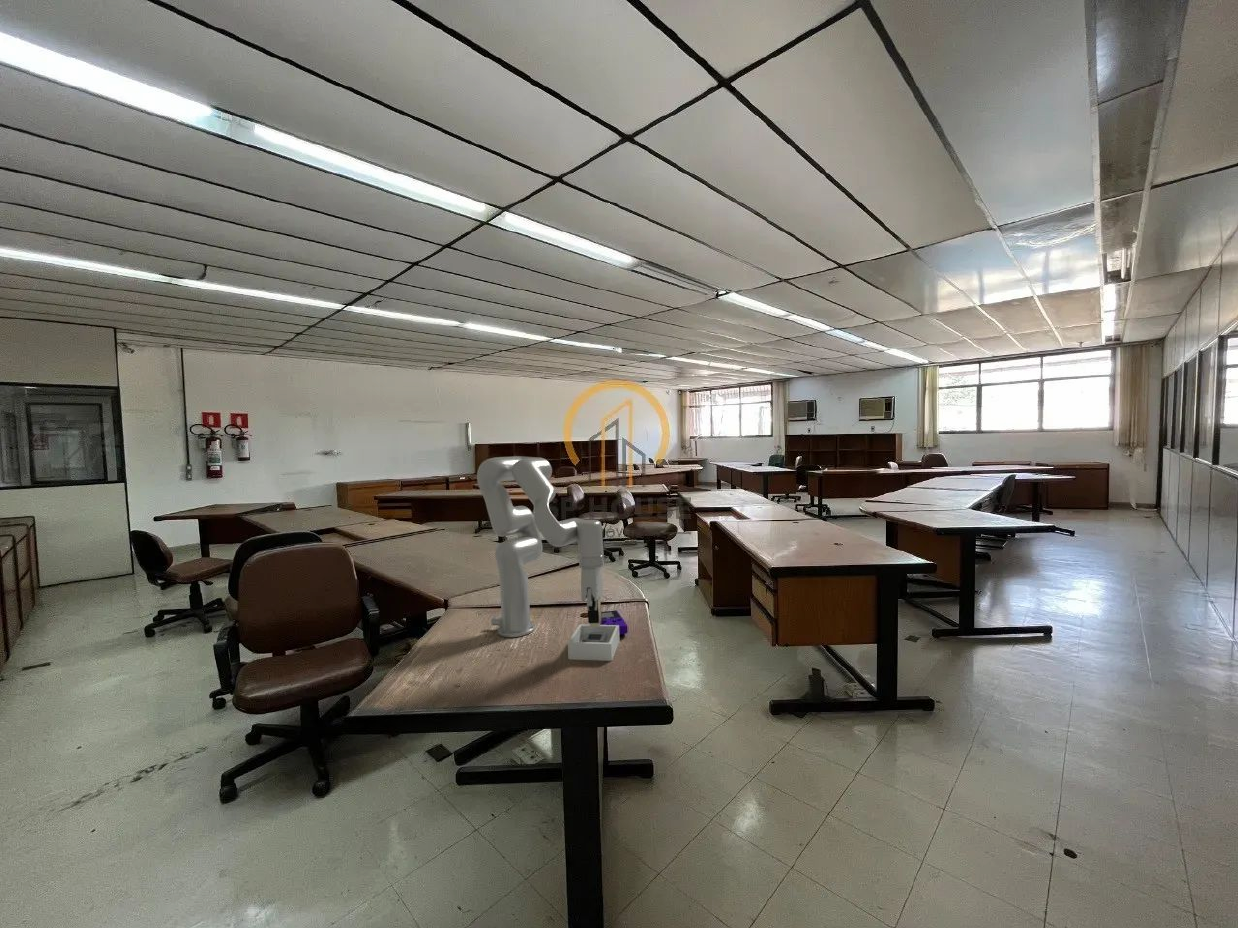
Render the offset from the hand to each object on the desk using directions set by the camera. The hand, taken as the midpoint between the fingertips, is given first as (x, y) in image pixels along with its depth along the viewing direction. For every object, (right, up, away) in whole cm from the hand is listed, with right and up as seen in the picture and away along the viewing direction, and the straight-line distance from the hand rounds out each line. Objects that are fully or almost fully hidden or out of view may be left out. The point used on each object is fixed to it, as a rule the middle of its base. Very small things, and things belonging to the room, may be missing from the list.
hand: (595, 620), depth 144 cm
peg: (0, -1, 0) cm, 1 cm away
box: (0, -9, +1) cm, 9 cm away
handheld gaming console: (+4, -9, +15) cm, 18 cm away
